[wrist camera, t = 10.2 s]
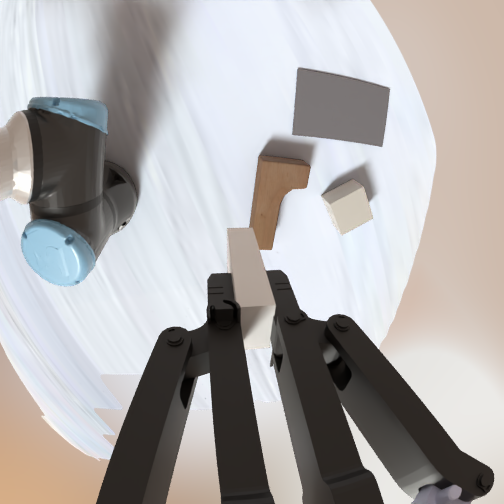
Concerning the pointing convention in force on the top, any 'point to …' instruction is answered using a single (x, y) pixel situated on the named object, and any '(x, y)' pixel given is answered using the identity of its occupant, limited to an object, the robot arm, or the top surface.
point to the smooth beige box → (347, 206)
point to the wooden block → (274, 193)
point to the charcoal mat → (339, 108)
